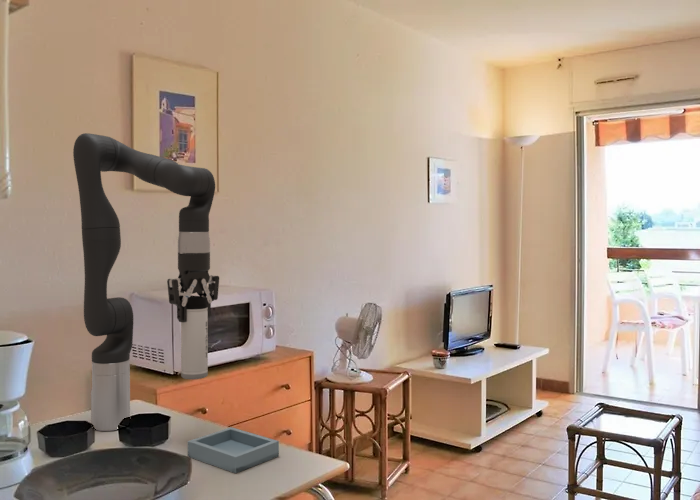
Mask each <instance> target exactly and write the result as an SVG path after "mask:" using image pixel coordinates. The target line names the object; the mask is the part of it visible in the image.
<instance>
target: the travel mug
mask: <svg viewBox="0 0 700 500" xmlns="http://www.w3.org/2000/svg"><path fill="white" fill-rule="evenodd" d="M181 298H183V296H181ZM185 307H187V321H186V322H180V357H181V358H180V370H181V371H180V377H181V378H183V379H184V380H201V379H204V378H207V377H208V376H209V375H208V374H209V371H208V368H209V365H208V364H209V362H208V360H209V357H208V354H209V353H208V352H209V350H208V348H209V346H208V341H209V340H208V339H209V337H208V335H209V334H208V332H209V331H208V327H209V326H208V325H209V324H208V321H209V320H208V311H207V309H208V307H207V297H206V298H203V297H202V296H199V295H192V294H191V297H189V298H188V301H187V303H186V306H185Z"/></svg>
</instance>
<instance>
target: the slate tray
mask: <svg viewBox="0 0 700 500" xmlns="http://www.w3.org/2000/svg"><path fill="white" fill-rule="evenodd" d="M279 442H280V440H276V439H272V438H270V437H266V436H264V435H258V434H256V433H252V432H248V431H246V430H243V429H239V428H235V427H231V426H230V427H227V428H224V429H221V430H218V431H215V432H212V433H209V434H206V435H202V436H200V437H196V438H194V439H190V440H187V457H188V456H189V457H188V458H192V459H194V460H197V461H200V462H202V463H205V464H208V465H211V466H214V467H217V468H220V469H222V470H225V471H226V472H230V473H233V474H238V473H240V472H243V471H245V470H248V469H251V468H253V467H256V466H258V465H261V464H262V463H265V462H268V461H271V460H274V459H275V458H278V457H279V456H280V454H279V453H280V447H279V445H280V443H279Z"/></svg>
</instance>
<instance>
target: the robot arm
mask: <svg viewBox="0 0 700 500" xmlns="http://www.w3.org/2000/svg"><path fill="white" fill-rule="evenodd" d="M72 153H73V163H74V164H73V165H74V170H75V175H76V176H75V177H76V180H77V188H78V193H79V207H80V216H81V240H82V251H83V267H84V270H83V271H84V292H83V294H84V295H83V321H84V324H85V329H86V330H87V332H88V333H89V334H90V335H92V336H93V337H101V336H106V338H105V339H104V341H102V343H101V344H99V345H98V346H96V347H95V348H94V349H93V350H92V352H91V384H92V385H91V390H90V421H91V422H90V423H92V424H93V425H94V426H95V429H96V430H95V429H94V430H95V431H101V432H109V431H110V432H113V431H118V430H117V427H118V424H119V422H120V421H121V420H122V419H124V418H126V417H130V418H131V373H130V372H131V369H130V367H131V362H130V361H131V359H130V357H131V355H130V354H131V350H132V349H133V344H134V343H133V338H134V311H133V307H132V304H131V302H130V301H129V300H128V299H126V298H125V297H122V296H121V297H110V298H109V297H108V281H109V276H110V274H111V272H112V268H113V267H114V265H115V263H116V260H117V258H118V257H119V255H120V252H121V251H120V250H121V247H122V245H121V244H122V241H121V240H122V236H121V225H120V219H119V217H118V215H117V212H116V211H115V209H114V207H113V205H112V203H111V202H110V200H109V198H108V196H107V195H106V193H105V191H104V190H105V189H104V188H103V187H104V186H103V182H102V174H101V173H102V172H104V173H106V172H117V173H118V172H119V173H126V174H130V175H133V176H135V177H137V178H138V179H139V180H141V181H143V182H145V183H149V184H150V185H151V184H152V185H155V186H157V187H160V188H163V189H166V190H168V191H170V192H172V193H173V194H175V195H180V196H183V197H190V199H189V202H188V205H187V206H185V207H182V208H181V209H179V212H178V237H177V238H178V239H177V269H178V272H179V274H178V276H177V278H168V279H167V280H166V281H167V292H168V302H169V304H171V305H175V306H176V318H177V320H178V323H181V322H186V321H187V307H185V306H186V303H187V301H188V298H189V297H191V295H192V294H194V295H195V294H197V296H202V297H203V298H206V297H207V307H208V309H207V311H208V319H210V317H211V315H212V314H211V313H212V312H211V311H212V310H211V307H212V302H213V301H217V300H218V296H219V289H220V288H219V287H220V286H219V285H220V276H219V275H214V274H213V275H212V274H211V275H210V274H209V271H210V269H211V239H210V218H209V216H210V212H211V209H212V207H213V206H212V205H213V200H214V198H215V197H214V195H215V193H216V192H215V191H216V182H215V181H216V180H215V177H214V175H213V173H212V172H211V170H209V169H208V168H205V167H196V166H189V165H183V164H180V163H178V162H176V161H174V160H173V159H169V158H166V157H162V156H159V155H154V154H151V153H146V152H142V151H139V150H136V149H134V148H132V147H130V146H128V145H126V144H125V143H123V142H120V141H119V140H117V139H115V138H114V137H111V136H107V135H100V134H96V133H88V132H87V133H82V134H80V135H78V136H77V138H76V139H75V142H74V144H73V152H72ZM181 296H183V298H181Z"/></svg>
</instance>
